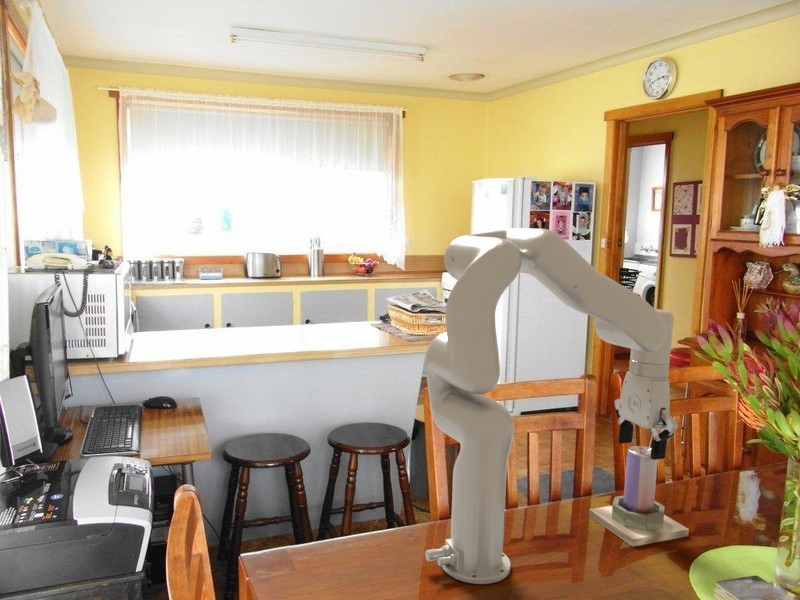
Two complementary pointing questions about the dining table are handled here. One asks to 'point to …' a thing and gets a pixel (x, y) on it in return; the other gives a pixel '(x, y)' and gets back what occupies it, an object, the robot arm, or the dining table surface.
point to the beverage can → (640, 480)
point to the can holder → (638, 523)
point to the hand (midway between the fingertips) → (640, 450)
